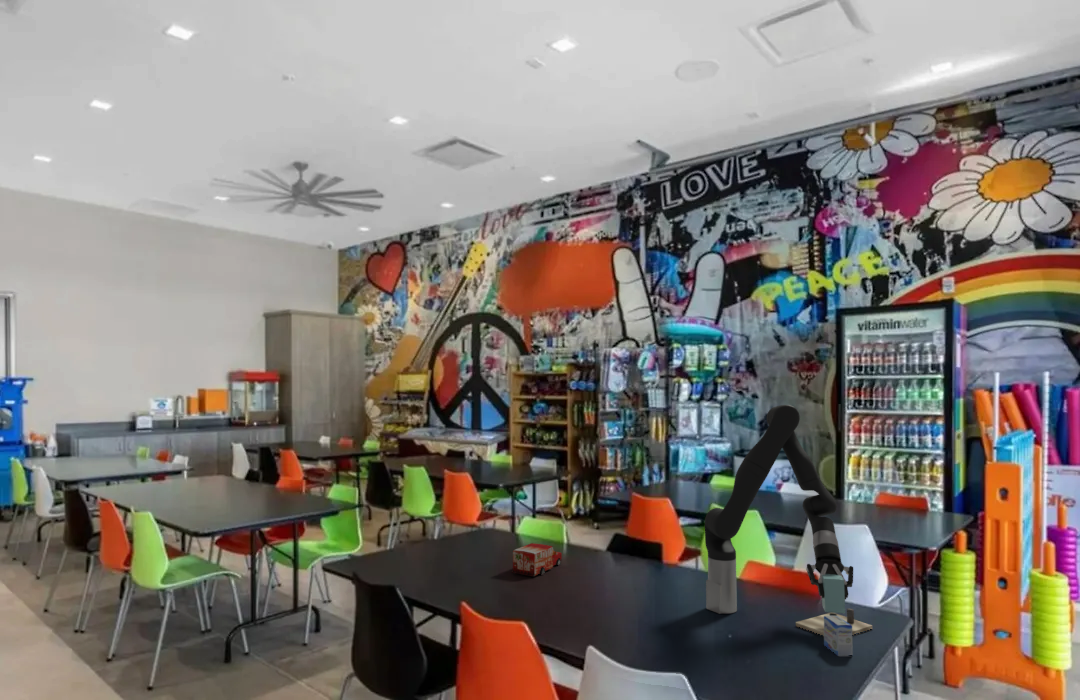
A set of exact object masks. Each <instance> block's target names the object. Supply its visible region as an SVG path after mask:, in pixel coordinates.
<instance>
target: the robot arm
mask: <svg viewBox="0 0 1080 700" xmlns="http://www.w3.org/2000/svg"><path fill="white" fill-rule="evenodd" d="M800 418H801V416H800V413H799V410H798V408H796V407H795V406H793V405H791V404H781V405H777V406H774V407H773V406H772V407H771V408H770V409H769V411H767V413H766V423H767V425H768V427H767V429H766V430H765V432H764V434H763V435H762V437H761V438H760V439H759V440H758V442H757V443H756V444H754V446H753V447H752V448H751V449H750V450H749V451H748V452H747V454H746V455H745V456H744V459H743V460H742V462H741V464H740V465H739V466H738V468H737V471H736V473H735V477H734V480H733V481H734V482H733V488H732V493H731V495H730V498H729V499H728V500H727V503H726V505H724V507H723V508H720V507H714V508H712V509H710V510H709V511H708V512H707V513H706V516H705V517H704V540H705V541H704V542H705V548H706V551H707V579H706V580H705V600H706V601H705V602H706V603H705V605H706V607H705V608H706V610H709V611H712V612H714V613H716V614H719V615H720V614H734V613H736V612H737V611H738V606H737V604H738V599H737V598H738V597H737V595H738V594H737V551H736V548H735V547H734V545H733V543H732V538H734V537H735V536H736V535H737V534H738V532H739V530H740V528H741V527H742V524H743V522H744V519H745V518H746V516H747V513H748V510H749V509H750V506H751V505H752V503H753V501H754V499H756V496H757V494H758V493H759V490H760V488H761V487H762V485H763V484H764V482H765V481H766V479H767V477H768V475H769V473H770V472H771V469H772V468H773V466H774V464H775V463H776V461H777V459H778V456H779V454H780V452H781V451H782V450H783V452H784V454H785V456H786V458H787V461H788V462H789V464H790V467H791V469H792V471H793V474H794V477H795V479H796V480H797V483H798V485H799V487H800V489H801V490H802V491H805V492H807V491H813V492H816V494H815V495H811V496H808V497H806V498H805V499H804V500H803V502H802V508H803V511H804V513H805V514H806V516H807V519H808V521H809V524H810V525H811V526H810V527H811V530H812V531H811V532H812V534H811V535H812V545H813V547H812V548H813V551H814V558H815V559H814V560H815V563H814V564H810V563H807V564H806V568H805V569H806V573H807V576H808V578H809V582H810V584H811V585H812V586H817V589H818V595H819V597H821V599H822V598H824V596H825V594H824V588H823V584H822V582H823V581H822V575H825V574H836V575H839V576H842V577H843V579H844V592H845V601H846V600H847V599H848V597H849V588H852V587H853V583H854V566H852V565H850V566H845V565H844V564H843V562H842V558H841V553H840V547H839V541H838V538H837V535H836V530H835V529H836V528H835V524H834V523H835V522H834V521H833V520H832V519H831V518H829V517H825V516H828V515H832V514H835V513H836V511H837V507H838V506H837V502H836V499H835V498H834V497H833V495H832V494H831V493H830V492H829V490H828V489H827V488H826V487H825V485H824V484H823V482H822V480H821V479H820V476H819V474H818V471H817V470H816V467H815V465H814V463H813V461H812V460H811V458H810V456H809V455H808V453H807V451H805V449H804V448H803V446H802V445H801V443H800V441H799V439H798V438H797V434H796V432H795V430H796V428H797V427H798V426H799V424H800V420H801V419H800ZM815 570H816V571H817V573H819V574H820V575H819V578H818V579H816V578H817V577H816V575H815ZM843 572H844V573H845V574H846V575H847V580H846V579H845V577H844V575H843Z"/></svg>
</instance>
